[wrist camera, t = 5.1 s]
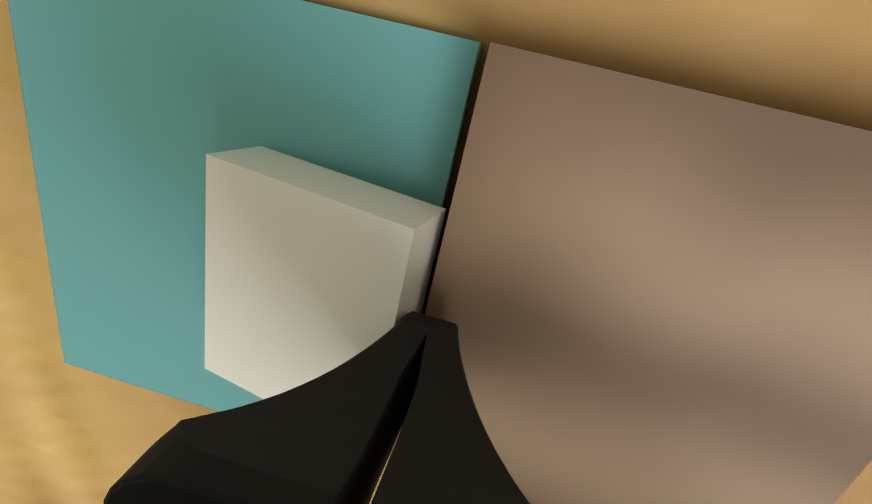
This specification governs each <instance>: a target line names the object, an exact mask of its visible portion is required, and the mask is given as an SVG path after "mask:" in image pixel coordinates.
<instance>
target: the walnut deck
mask: <svg viewBox="0 0 872 504" xmlns="http://www.w3.org/2000/svg"><path fill="white" fill-rule="evenodd" d="M425 315H428V316H432V317H435V318H439V319H442V320H446V321H449V322H453V323H456V325H457V327H458V328H459V329H458V339H459V347H460V353H461V359H462V363H463V367H464V371H465V375H466V379H467V382H468V386H469V389H470V392H471V395H472V398H473V401H474V403H475V406H476V409H477V411H478V414H479V416H480V418H481V421H482V423H483V425H484V427H485V430H486V432H487V434H488V436H489V438H490V440H491V442H492V444H493V446H494V448H495V450H496V451H497V453H498V455H499V457H500V458H501V460H502V462H503V463H504V465H505V467H506V468H507V470H508V472H509V473H510V475H511V477H512V478H513V480H514V482H515V483H516V484H517V486H518V487H519V489H520V490H521V492H522V493H523V495H524V496H525V497H526V499H527V500H528V502H529V503H530V504H834V503H835V502H836V501H837V500H838V498H839V497H840V496H841V495H842V494H843V493H844V491H845V490H846V489H847V488H848V487H849V486H850V484H851V483H852V482H853V481H854V480H855V479H856V477H857V476H858V475H859V474H860V473H861V472H862V470H863V469H864V468H865V467H866V466H867V465H868V463H869V462H870V461H871V460H872V131H869V130H864V129H860V128H856V127H852V126H847V125H843V124H839V123H835V122H830V121H826V120H822V119H818V118H813V117H809V116H805V115H800V114H796V113H792V112H788V111H783V110H779V109H775V108H771V107H766V106H762V105H758V104H753V103H749V102H745V101H741V100H736V99H732V98H728V97H724V96H719V95H715V94H711V93H707V92H702V91H698V90H694V89H689V88H685V87H681V86H677V85H672V84H668V83H664V82H660V81H655V80H651V79H647V78H642V77H638V76H634V75H630V74H625V73H621V72H617V71H613V70H608V69H604V68H600V67H596V66H591V65H587V64H583V63H578V62H574V61H570V60H566V59H561V58H557V57H553V56H549V55H544V54H540V53H536V52H532V51H527V50H523V49H519V48H514V47H510V46H506V45H502V44H497V43H493V42H490V45H489V49H488V53H487V58H486V62H485V66H484V70H483V74H482V78H481V82H480V87H479V91H478V95H477V99H476V103H475V107H474V112H473V116H472V120H471V124H470V128H469V132H468V136H467V141H466V145H465V149H464V153H463V157H462V161H461V165H460V170H459V174H458V178H457V182H456V186H455V190H454V195H453V199H452V203H451V207H450V211H449V215H448V219H447V224H446V228H445V232H444V236H443V240H442V244H441V248H440V253H439V257H438V261H437V265H436V269H435V273H434V277H433V282H432V286H431V290H430V294H429V298H428V302H427V307H426V311H425ZM400 431H401V430H400ZM399 433H400V432H399ZM398 436H399V435H398ZM397 438H398V437H397ZM396 441H397V439H396ZM396 441H395V444H396ZM395 444H394V446H395ZM394 446H393V448H392V451H393V449H394ZM391 454H392V452H391Z"/></svg>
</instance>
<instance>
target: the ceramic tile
mask: <svg viewBox="0 0 872 504" xmlns="http://www.w3.org/2000/svg"><path fill="white" fill-rule="evenodd" d="M445 212H446V209H445V208H442V207H439V206H436V205H433V204H430V203H427V202H424V201H421V200H418V199H415V198H412V197H409V196H406V195H404V194H401V193H398V192H395V191H392V190H389V189H386V188H383V187H380V186H377V185H374V184H371V183H368V182H365V181H363V180H360V179H357V178H354V177H351V176H348V175H345V174H342V173H339V172H336V171H333V170H330V169H327V168H324V167H322V166H319V165H316V164H313V163H310V162H307V161H304V160H301V159H298V158H295V157H292V156H289V155H286V154H284V153H281V152H278V151H275V150H272V149H269V148H266V147H263V146H257V147H250V148H243V149H237V150H230V151H223V152H216V153H209V154H206V221H205V369H207V370H209V371H211V372H213V373H215V374H216V375H218V376H220V377H222V378H224V379H226V380H228V381H230V382H232V383H234V384H235V385H237V386H239V387H241V388H243V389H245V390H247V391H249V392H251V393H253V394H255V395H256V396H258V397H260V398H262V399H266V398H269V397H272V396H275V395H278V394H280V393H283V392H286V391H288V390H290V389H293V388H295V387H298V386H300V385H302V384H304V383H306V382H309V381H311V380H313V379H315V378H317V377H319V376H321V375H323V374H325V373H327V372H329V371H331V370H332V369H334V368H336V367H338V366H339V365H341V364H343V363H344V362H346V361H348V360H349V359H351V358H352V357H354V356H355V355H357V354H358V353H360V352H361V351H363V350H364V349H366V348H367V347H369V346H370V345H371V344H373V343H374V342H375V341H376V340H378V339H379V338H380V337H382V336H383V335H384V334H386V333H387V332H388V331H389V330H390V329H391V328H393V327H394V326H395V325H396V324H397V323H398V322H399V321H400V320H402V319H403V318H404V317H405V316H406V315H407V313H409V312H411V311H414V312H418V313H421V312H422V308H423V304H424V300H425V295H426V291H427V287H428V283H429V279H430V274H431V270H432V266H433V262H434V258H435V254H436V249H437V245H438V241H439V237H440V233H441V228H442V224H443V220H444V216H445Z"/></svg>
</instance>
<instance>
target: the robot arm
mask: <svg viewBox="0 0 872 504" xmlns="http://www.w3.org/2000/svg"><path fill="white" fill-rule="evenodd" d="M458 329H459V328H458V327H457V325H456V323H453V322H449V321H446V320H442V319H439V318H435V317H432V316H428V315H425V314H421V313H418V312H414V311H411V312H409V313H407V315H406V316H405V317H404V318H403V319H402V320H400V321H399V322H398V323H397V324H396V325H395V326H394V327H393V328H391V329H390V330H389V331H388V332H387V333H386V334H384V335H383V336H382V337H380V338H379V339H378V340H376V341H375V342H374V343H373V344H371V345H370V346H369V347H367V348H366V349H364V350H363V351H361V352H360V353H358V354H357V355H355V356H354V357H352V358H351V359H349V360H348V361H346V362H344V363H343V364H341V365H339V366H338V367H336V368H334V369H332V370H331V371H329V372H327V373H325V374H323V375H321V376H319V377H317V378H315V379H313V380H311V381H309V382H306V383H304V384H302V385H300V386H298V387H295V388H293V389H290V390H288V391H286V392H283V393H280V394H278V395H275V396H272V397H269V398H266V399H263V400H260V401H257V402H254V403H250V404H247V405H244V406H240V407H237V408H233V409H229V410H225V411H221V412H216V413H212V414H208V415H203V416H199V417H195V418H190V419H185V420H181V421H180V422H179V423H178V424H177V425H176V426H174V427H173V428H172V429H171V430H170V431H168V432H167V433H166V434H165V435H163V436H162V437H161V438H160V439H159V440H158V441H157V442H156V443H155V444H153V445H152V446H151V447H150V448H149V449H148V450H147V451H146V452H145V453H144V454H143V455H142V456H141V457H140V458H139V459H138V460H137V461H136V462H135V463H134V464H133V465H132V466H131V467H130V469H129V470H128V471H127V472H126V473H125V474H124V475H123V476H122V477H121V478H120V479H119V480H118V481H117V482H116V483H115V484H114V485H113V486H112V487H111V488H110V490H109V491H108V493H107V495H106V497H105V499H104V504H369V502H370V499H371V497H372V494H373V492H374V489H375V487H376V484H377V482H378V480H379V477H380V475H381V473H382V471H383V468H384V466H385V464H386V462H387V459H388V457H389V455H390V453H391V450H392V448H393V446H394V444H395V441H396V439H397V441H396V444H395V446H394V449H393V451H392V454H391V456H390V459H389V462H388V464H387V466H386V469H385V471H384V474H383V476H382V479H381V481H380V484H379V486H378V488H377V491H376V493H375V495H374V498H373V500H372V504H530V503H529V502H528V500H527V499H526V497H525V496H524V495H523V493H522V492H521V490H520V489H519V487H518V486H517V484H516V483H515V482H514V480H513V478H512V477H511V475H510V473H509V472H508V470H507V468H506V467H505V465H504V463H503V462H502V460H501V458H500V457H499V455H498V453H497V451H496V450H495V448H494V446H493V444H492V442H491V440H490V438H489V436H488V434H487V432H486V430H485V427H484V425H483V423H482V421H481V418H480V416H479V414H478V411H477V409H476V406H475V403H474V401H473V398H472V395H471V392H470V389H469V386H468V382H467V379H466V375H465V371H464V367H463V363H462V359H461V353H460V347H459V339H458ZM400 430H401V431H400ZM399 432H400V433H399ZM398 435H399V436H398ZM397 437H398V438H397Z"/></svg>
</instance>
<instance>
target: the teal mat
mask: <svg viewBox="0 0 872 504" xmlns="http://www.w3.org/2000/svg"><path fill="white" fill-rule="evenodd" d="M8 3H9V10H10V16H11V23H12V29H13V35H14V42H15V48H16V55H17V61H18V67H19V74H20V80H21V87H22V93H23V99H24V106H25V112H26V119H27V125H28V131H29V138H30V144H31V151H32V157H33V164H34V170H35V176H36V183H37V189H38V196H39V202H40V208H41V215H42V221H43V228H44V234H45V240H46V247H47V253H48V260H49V266H50V272H51V279H52V285H53V292H54V298H55V304H56V311H57V317H58V324H59V330H60V337H61V343H62V349H63V356H64V362H65V363H67V364H70V365H73V366H76V367H80V368H83V369H86V370H89V371H92V372H95V373H99V374H102V375H105V376H108V377H111V378H114V379H118V380H121V381H124V382H127V383H130V384H133V385H136V386H140V387H143V388H146V389H149V390H152V391H155V392H159V393H162V394H165V395H168V396H171V397H174V398H178V399H181V400H184V401H187V402H190V403H193V404H197V405H200V406H203V407H206V408H209V409H212V410H216V411H219V412H221V411H225V410H229V409H233V408H237V407H240V406H244V405H247V404H250V403H254V402H257V401H260V400H263V399H262V398H260V397H258V396H256V395H255V394H253V393H251V392H249V391H247V390H245V389H243V388H241V387H239V386H237V385H235V384H234V383H232V382H230V381H228V380H226V379H224V378H222V377H220V376H218V375H216V374H215V373H213V372H211V371H209V370H207V369H205V221H206V154H209V153H216V152H223V151H230V150H237V149H243V148H250V147H257V146H263V147H266V148H269V149H272V150H275V151H278V152H281V153H284V154H286V155H289V156H292V157H295V158H298V159H301V160H304V161H307V162H310V163H313V164H316V165H319V166H322V167H324V168H327V169H330V170H333V171H336V172H339V173H342V174H345V175H348V176H351V177H354V178H357V179H360V180H363V181H365V182H368V183H371V184H374V185H377V186H380V187H383V188H386V189H389V190H392V191H395V192H398V193H401V194H404V195H406V196H409V197H412V198H415V199H418V200H421V201H424V202H427V203H430V204H433V205H436V206H439V207H442V208H443V207H444V203H445V199H446V194H447V190H448V186H449V182H450V177H451V173H452V169H453V164H454V160H455V156H456V152H457V147H458V143H459V139H460V135H461V130H462V126H463V122H464V118H465V113H466V109H467V105H468V100H469V96H470V92H471V88H472V83H473V79H474V75H475V71H476V66H477V62H478V58H479V54H480V49H481V45H482V43H481V42H478V41H473V40H469V39H465V38H461V37H456V36H452V35H448V34H443V33H439V32H435V31H431V30H426V29H422V28H418V27H414V26H409V25H405V24H401V23H397V22H392V21H388V20H384V19H380V18H375V17H371V16H367V15H363V14H358V13H354V12H350V11H345V10H341V9H337V8H333V7H328V6H324V5H320V4H316V3H311V2H307V1H303V0H8Z"/></svg>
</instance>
